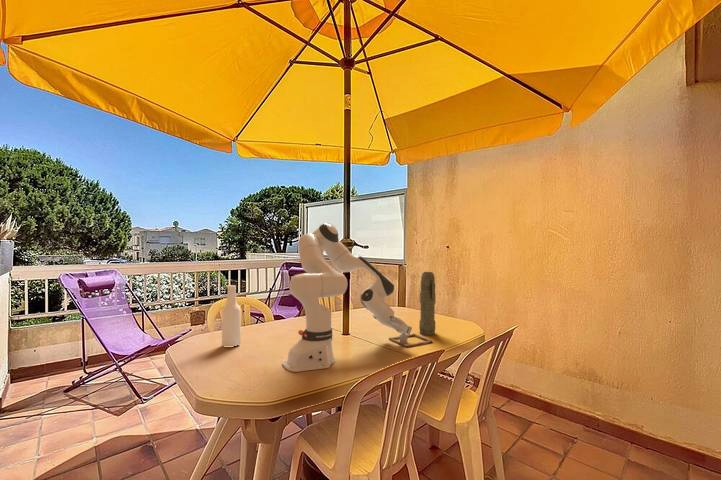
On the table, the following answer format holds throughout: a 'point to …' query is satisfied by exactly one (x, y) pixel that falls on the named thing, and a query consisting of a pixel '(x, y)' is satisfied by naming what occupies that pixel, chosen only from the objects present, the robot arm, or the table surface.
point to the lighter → (405, 335)
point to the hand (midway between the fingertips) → (400, 331)
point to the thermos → (427, 304)
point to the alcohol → (231, 319)
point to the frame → (426, 341)
